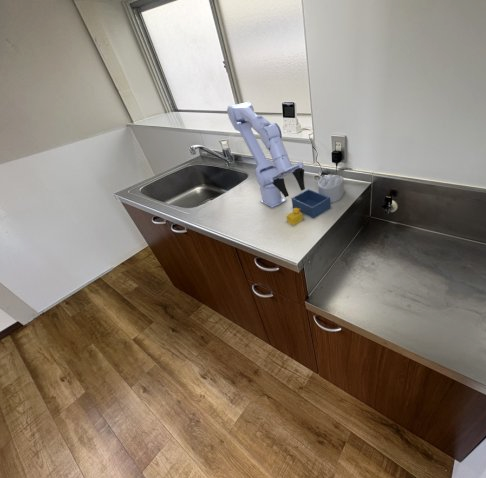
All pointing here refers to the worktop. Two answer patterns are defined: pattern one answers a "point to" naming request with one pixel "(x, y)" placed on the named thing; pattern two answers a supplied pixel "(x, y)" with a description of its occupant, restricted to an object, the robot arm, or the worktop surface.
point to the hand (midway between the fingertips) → (295, 193)
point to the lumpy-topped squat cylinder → (331, 187)
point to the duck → (294, 216)
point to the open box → (311, 203)
